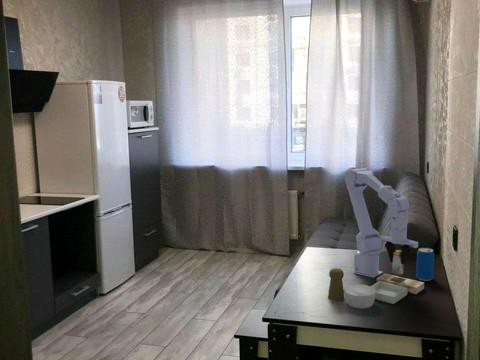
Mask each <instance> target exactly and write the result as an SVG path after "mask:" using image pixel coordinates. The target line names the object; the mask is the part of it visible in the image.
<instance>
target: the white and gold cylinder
mask: <svg viewBox="0 0 480 360" xmlns="http://www.w3.org/2000/svg"><path fill="white" fill-rule="evenodd" d="M391 263H392V264H391V265H392V267H391V268H392V271H391V273H392V274H394V275H403V274H404V265H403V264H402V253H401V249H395V250H393V262H391Z"/></svg>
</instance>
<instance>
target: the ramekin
mask: <svg viewBox="0 0 480 360" xmlns="http://www.w3.org/2000/svg"><path fill="white" fill-rule="evenodd" d="M371 286H372V285H370V286H369V285H367V284H363V283H362V284H358V283H357V284H356V283H355V284H349V285H346V286H345V287H343V290H344V297H345V299H344V300H345V303H346V304H347V305H348V306H349V307H351V308H354V309H369V308H371V307H372V306H373V305H374V304H375V300H376V299H375V295H376V290H375V288H373V287H371Z"/></svg>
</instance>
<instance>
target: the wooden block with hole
mask: <svg viewBox="0 0 480 360" xmlns="http://www.w3.org/2000/svg"><path fill="white" fill-rule="evenodd" d="M379 281H381V282H385V283H389V284H393V285H397V286H402V287H406V288H407V293H409V292H410V294H413V295H417V294H419V293H420V292H421V291H423V290H424V289H425V281H424V282H423V281H421V280H415V279H412V278H411V279H410V278H406V277H401V276H398V275H395V274H394V275H393V274H387V273H384V274H383V273H382V274H380V275H379V276H377V278H376V283H377V282H379Z"/></svg>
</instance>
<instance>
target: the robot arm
mask: <svg viewBox="0 0 480 360" xmlns="http://www.w3.org/2000/svg"><path fill="white" fill-rule="evenodd" d="M344 181H345V185H346V188H347V191H348V195H349V199H350V202H351V204H352V206H351V207H352V208H353V209H352V210H353V212H354V216H355V220H356V223H357V225H358V229H359V232H358V233H357V234H356V236H355V239H356V248H357V251H356V253H355V254H354V259H353V260H354V261H353V262H354V263H353V264H354V265H353V267H354V268H353V272H352V273H353V274H357V275H359V276H360V275H361V276H363V277H364V276H365V277H369V278H376V277H379V276H380V275H382V274H383V271H381V270H379V268H380V267H379V266H380V265H379V262H380V261H379V260H380V259H379V258H380V253H381V251H382V249H384V248H385V250H386V251H387V254H388V257H389V262H390V263H392V262H393V250H396V245H400V246H401V247H400V250H401V253H402V264H403V266H404V265H405V264H406V263H407V260H408V257H409V255H410V251H411V250H412V249H413V248H414V249H417V248H418V247H419V242H418V241H415V240H411V239H408V237H407V236H408V233H407V232H408V211H410V210H411V208H412V201H411V199H410V198H409V197H408V196H407V195H402V194H400V193H399V192H397V191H396V190H395V189H393V186H391V185H384V184H383V183H382V182H381V181H380V180H379V179H378V177H376V176H375V175H374V172H373V170H371V168H369V167H362V168H355V169H354V168H353V169H350V168H349V169H347V171H346V172H345V175H344ZM367 186H368V187H370V188H372V189H373V190H374V191H375V192H376V193H377V196H378V198H380V200H381V201H383V202H384V203H385V204H387V205H388V206H387V207H388V210H389V214H390V217H391V220H390V221H391V223H390V224H391V225H390V226H391V227H390V236H387V235H380V233H379V232H380V231H378V230H376V229H375V228H374V227H373V225H372V224H373V223H372V221H371V218H370V213H369V210H368V208H367V207H368V206H367V204H366V201H365V197H364V194H363V191H364V190H365V189H366V188H367ZM384 243H385V244H384Z"/></svg>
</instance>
